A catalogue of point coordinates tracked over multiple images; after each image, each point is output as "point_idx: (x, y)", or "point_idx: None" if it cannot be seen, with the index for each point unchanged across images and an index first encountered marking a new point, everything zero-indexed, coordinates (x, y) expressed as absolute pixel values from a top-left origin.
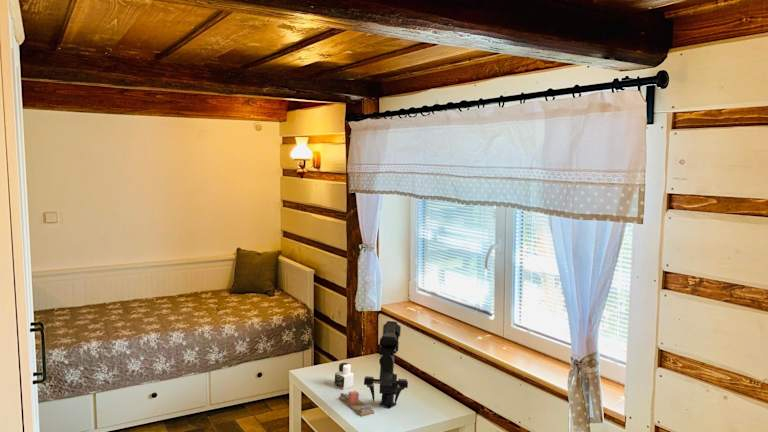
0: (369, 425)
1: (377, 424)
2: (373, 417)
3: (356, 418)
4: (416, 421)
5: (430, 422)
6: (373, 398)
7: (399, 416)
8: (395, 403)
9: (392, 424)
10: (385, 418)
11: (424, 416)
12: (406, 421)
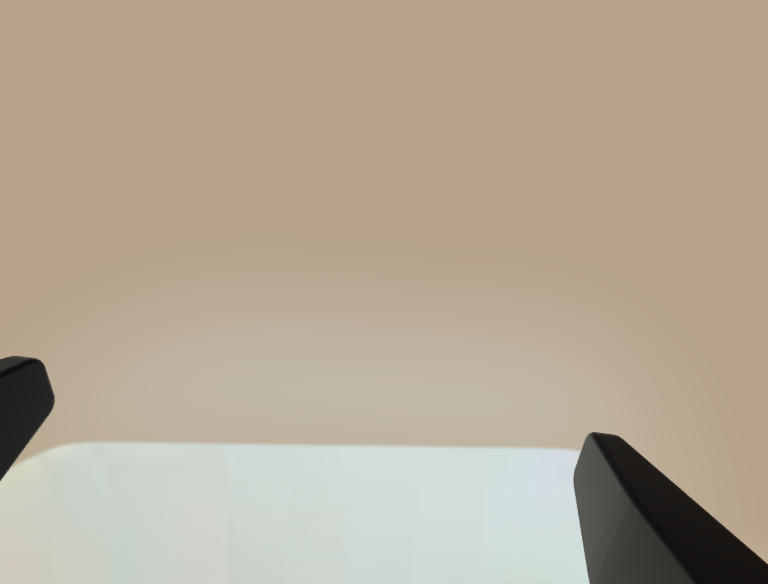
0: (478, 447)
1: (409, 462)
2: (431, 570)
3: (575, 560)
4: (103, 501)
5: (3, 484)
6: (670, 505)
7: (228, 576)
8: (19, 356)
9: (287, 460)
10: (337, 551)
11: (48, 569)
12: (177, 503)
